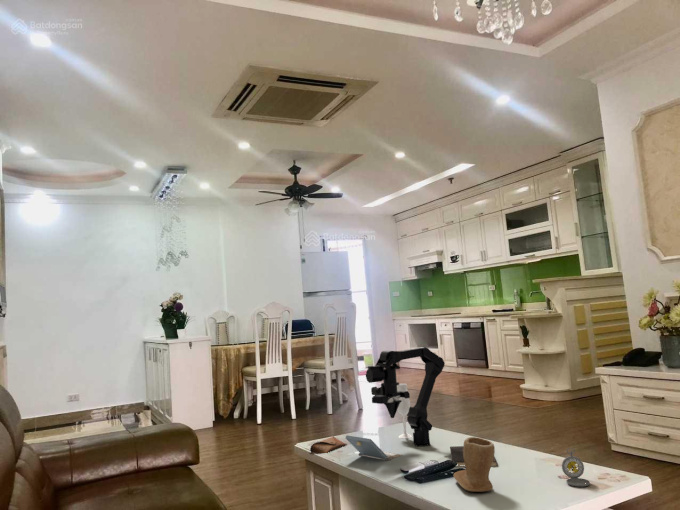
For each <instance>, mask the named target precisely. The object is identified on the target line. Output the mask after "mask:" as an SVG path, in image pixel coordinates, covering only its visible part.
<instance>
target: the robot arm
mask: <svg viewBox="0 0 680 510" xmlns="http://www.w3.org/2000/svg"><path fill="white" fill-rule="evenodd" d="M413 358H420V359H421V361H422V362H423V363H424V364H425V365H424V370H425V374H424V375H425V376H424V378H423V381H422V384H421V387H420V391H419V393H418V397H417V400H416V402H415V405H414V406H410V408H409V412H408V413H407V414H406V422H407V423H408V425H409V426H410V428H411V430H413V431H414V432H412V436H413V437H412V440H413V441H412V442H413V444H414V446H416V447H418V446H419V447H423V446H431V441H430V431H432V429H433V425H432V424H431V422H430V421H429V420H428V409H427V408H428V404H429V401H430V399H431V395H432V392H433V389H434V386H435V383H436V380H437V378H438V376H439V375H440V374H441V373H442V372H443V369H444V368H445V362H446V361H444V358H443V357H441V356H439V355H438V354H436V353H435V352H433V351H431V350H430V349H429V348H428V347H426V346H422V347H421V346H419V347H415V348H409V349H403V350H382V351H380V355H379V358H378V359H377V362H376V364H375V365H372V366H371V365H368V366H367V370H366V371H365V372H366V373H365V379H366V381H367V383H369V384H370V383H371V384H372V383H377V382H378V383H379V382H382V383H381V384H380V387H377V386H373V387H371V389H370V390H371V392H370V393H371V395H372V397H371V403H372V404H378V405H379V404H380V405H385V407H386V409H387V412H388V414H389V415H390V418H391V419H394V418H395V416H396V414H397V412H398V411H397V409H398V406H399V404H400V402H402V400H399V398H400V397H404V398H405V399H407V398H409V399H411V397H410V392H409V391H397V385H399V384H400V382H399V381H397V370H400V369H401V367H400V365H398V363H400V362H401V361H403V360H408V359H413Z"/></svg>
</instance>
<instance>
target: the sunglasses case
mask: <svg viewBox="0 0 680 510" xmlns="http://www.w3.org/2000/svg"><path fill="white" fill-rule="evenodd" d="M345 445H346V446H348V444H347V443H345V442H343V441H341V440H339V439H338V438H336V437H335V436H331V437H329V438H325V439H323V440H321V441H317V442H314V443H312V445H311V446H310V448H309V449H310V453H311V454H312V453H313V454H321V453H327V454H329V453H331V452H333V451H335V449H336V450H338V449H340V448H342V446H343V447H346V446H345ZM330 451H331V452H330ZM328 452H329V453H328Z"/></svg>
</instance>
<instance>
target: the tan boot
mask: <svg viewBox="0 0 680 510" xmlns="http://www.w3.org/2000/svg"><path fill="white" fill-rule="evenodd" d="M463 441H464V442H463V446H464V448H463V457H464V461H465V466H464V467H465V469H463V470H458V471H456V472H454V473H453V477H454V480H456V482H457V483H458V485H460V487H461V488H462V489H464V490H465V491H467V492H474V493H475V492H476V493H477V492H478V493H480V492H481V493H482V492H488V491H492V490H493V484H492V482H491V480H490V477H489V475H490V470H491V467H492V466H491V465H492V462H493V459H494V456H495V452H496V450H495V445H494V443H493V442H492V441H490V440H488V439H484V438H482V437H476V436H469V437H466V438H465V440H463Z"/></svg>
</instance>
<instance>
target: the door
mask: <svg viewBox="0 0 680 510" xmlns="http://www.w3.org/2000/svg"><path fill="white" fill-rule="evenodd" d="M345 440H346V441H348V442H349V444H351V445H352V446H353V448H354V449H355V450H356V451H357V452H358V453H361V454H362V455H361V456H363V455H365V456H364V457H368V456H370V457H369V458H373V457H376V458H375V459H378V458H381V459H380V460H384V459H387V455H386V454H385V453H384V452H385V451H383V450H382V449H381V448H380V447H379V446H378V445H377V444H376V443H375V442H374V441H373V440H372V439H371V438H368V437H367V438H365V437H359V436H352V435H348V434H347V435H345Z"/></svg>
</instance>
